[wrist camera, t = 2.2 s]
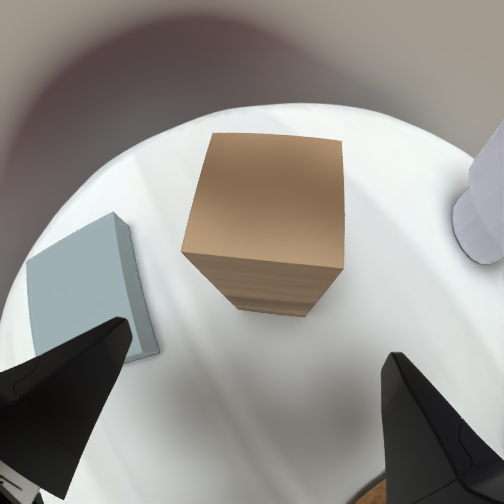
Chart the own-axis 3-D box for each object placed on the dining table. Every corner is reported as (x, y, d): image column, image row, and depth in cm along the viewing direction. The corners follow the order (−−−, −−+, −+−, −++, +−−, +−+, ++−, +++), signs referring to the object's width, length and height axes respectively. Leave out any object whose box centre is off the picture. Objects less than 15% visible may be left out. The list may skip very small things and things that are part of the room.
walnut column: (304, 317, 20) (343, 268, 8) (238, 309, 21) (180, 251, 8) (309, 254, 22) (341, 140, 9) (247, 247, 22) (212, 132, 10)
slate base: (159, 352, 20) (142, 352, 17) (61, 379, 19) (40, 380, 17) (128, 225, 24) (113, 211, 21) (44, 269, 24) (26, 261, 21)
